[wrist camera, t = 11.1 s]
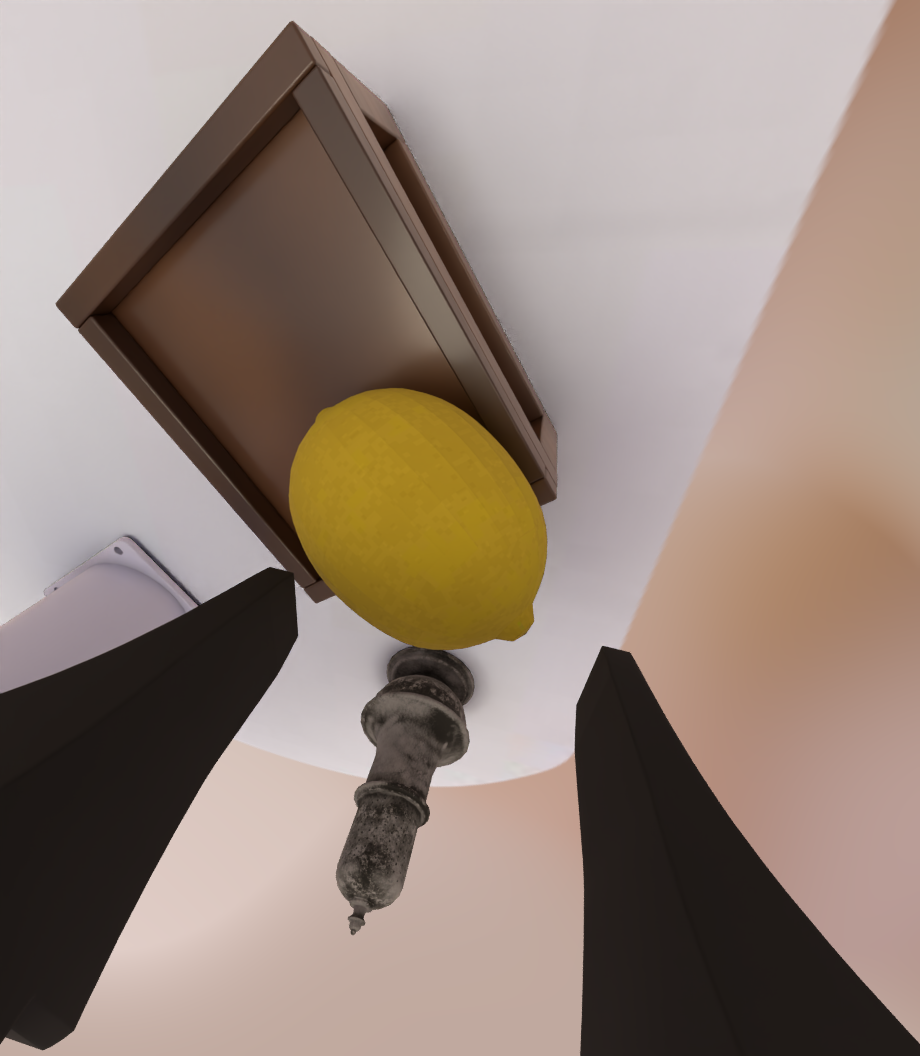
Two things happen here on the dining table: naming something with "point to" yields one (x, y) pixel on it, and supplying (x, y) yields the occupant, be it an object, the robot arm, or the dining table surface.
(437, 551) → the lemon
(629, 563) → the dining table surface
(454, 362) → the walnut box
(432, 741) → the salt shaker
